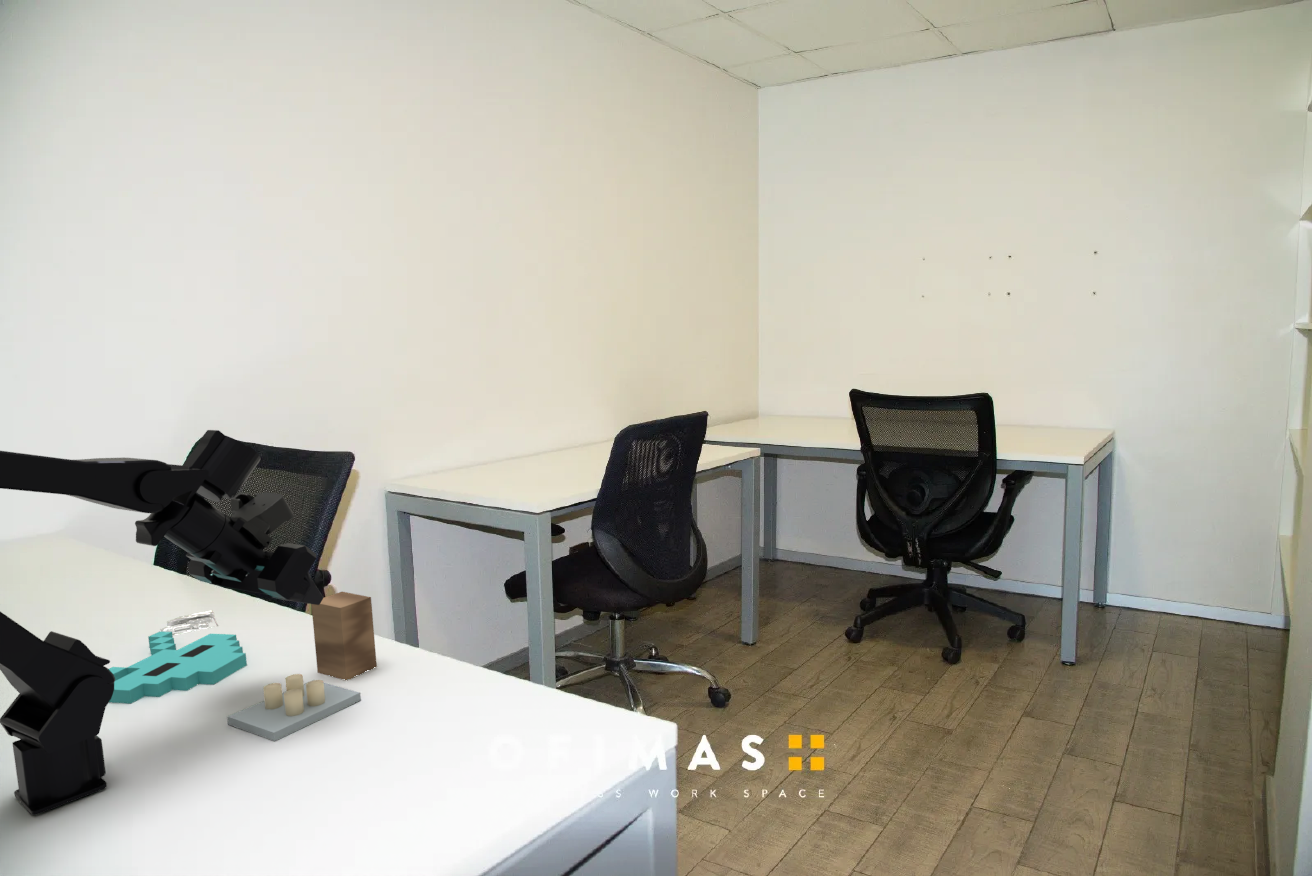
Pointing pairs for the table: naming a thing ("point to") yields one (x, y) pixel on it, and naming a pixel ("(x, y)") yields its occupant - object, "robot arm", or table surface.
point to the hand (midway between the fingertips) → (297, 596)
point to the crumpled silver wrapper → (191, 622)
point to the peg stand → (292, 707)
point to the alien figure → (178, 666)
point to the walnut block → (344, 635)
